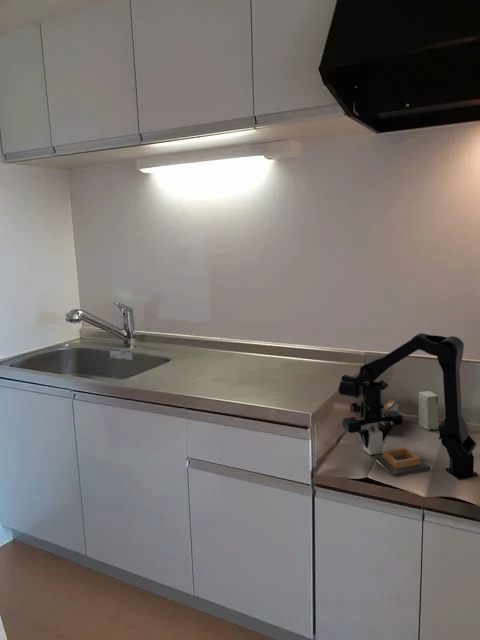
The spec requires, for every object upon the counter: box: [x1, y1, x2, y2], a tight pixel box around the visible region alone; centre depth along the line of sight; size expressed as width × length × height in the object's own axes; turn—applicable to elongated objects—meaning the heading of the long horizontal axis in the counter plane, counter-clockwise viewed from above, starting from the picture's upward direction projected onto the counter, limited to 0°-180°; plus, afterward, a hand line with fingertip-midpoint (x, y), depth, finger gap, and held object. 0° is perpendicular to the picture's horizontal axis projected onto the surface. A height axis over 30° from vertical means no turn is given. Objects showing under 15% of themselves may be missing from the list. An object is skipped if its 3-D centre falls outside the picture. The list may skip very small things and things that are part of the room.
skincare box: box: [418, 390, 440, 431], centre depth 182 cm, size 6×4×12 cm
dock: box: [372, 447, 431, 477], centre depth 158 cm, size 12×12×3 cm
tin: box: [382, 399, 399, 426], centre depth 185 cm, size 15×3×8 cm, turn 146°
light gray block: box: [363, 424, 384, 456], centre depth 166 cm, size 4×4×8 cm
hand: (373, 446), depth 166 cm, fingers closed on light gray block, 4 cm apart
